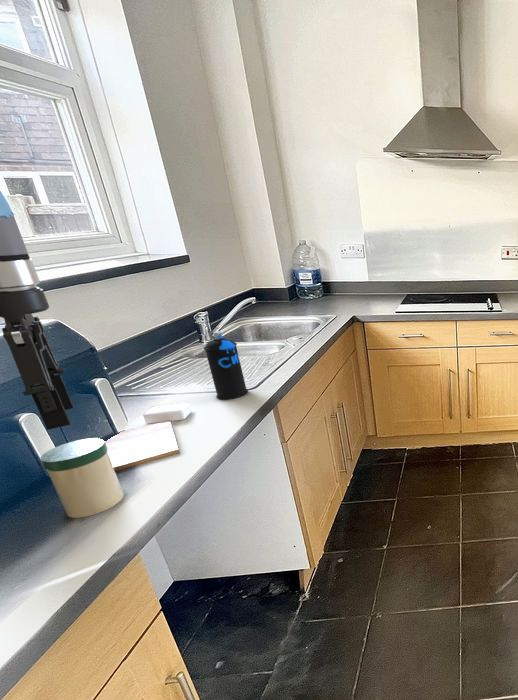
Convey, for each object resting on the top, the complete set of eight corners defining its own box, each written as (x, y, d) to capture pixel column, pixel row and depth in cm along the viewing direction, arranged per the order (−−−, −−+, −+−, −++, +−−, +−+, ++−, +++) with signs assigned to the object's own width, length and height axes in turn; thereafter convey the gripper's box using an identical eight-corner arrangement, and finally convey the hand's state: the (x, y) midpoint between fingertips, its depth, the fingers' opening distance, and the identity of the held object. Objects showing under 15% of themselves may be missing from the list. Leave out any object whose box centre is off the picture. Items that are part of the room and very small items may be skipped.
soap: (192, 411, 117) (190, 401, 116) (184, 420, 112) (181, 410, 111) (154, 415, 114) (151, 405, 113) (145, 424, 110) (141, 414, 109)
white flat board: (99, 441, 102) (98, 437, 101) (171, 423, 111) (170, 419, 110) (97, 476, 88) (96, 472, 87) (179, 452, 97) (178, 448, 96)
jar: (68, 502, 80) (44, 450, 76) (123, 485, 85) (104, 435, 81) (65, 524, 74) (39, 469, 70) (124, 504, 79) (103, 452, 75)
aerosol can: (209, 398, 125) (192, 334, 119) (233, 388, 133) (217, 327, 126) (232, 401, 124) (215, 336, 117) (254, 390, 131) (240, 329, 124)
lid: (46, 457, 76) (43, 448, 76) (107, 441, 81) (104, 433, 81) (41, 476, 70) (37, 467, 70) (107, 458, 76) (104, 450, 75)
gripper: (-16, 284, 70) (37, 405, 78) (-50, 300, 56) (20, 448, 63) (48, 279, 75) (92, 394, 83) (32, 294, 60) (88, 431, 68)
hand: (61, 417), depth 73 cm, fingers open, 8 cm apart
